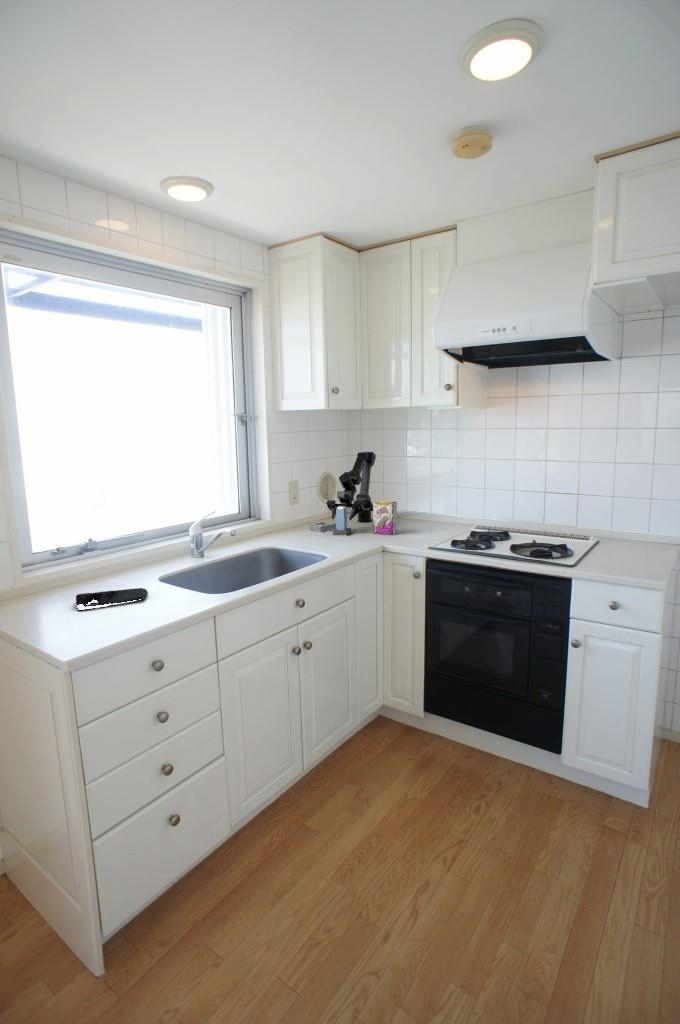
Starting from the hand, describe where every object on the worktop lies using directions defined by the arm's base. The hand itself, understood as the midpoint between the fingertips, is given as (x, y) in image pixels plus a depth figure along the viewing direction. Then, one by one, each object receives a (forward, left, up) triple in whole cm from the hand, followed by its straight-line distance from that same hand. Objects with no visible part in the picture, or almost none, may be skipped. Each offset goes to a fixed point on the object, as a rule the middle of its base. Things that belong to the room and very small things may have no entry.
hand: (341, 519), depth 266 cm
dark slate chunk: (+113, +36, -8) cm, 119 cm away
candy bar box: (-18, +12, -8) cm, 23 cm away
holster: (-1, -1, -8) cm, 8 cm away
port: (+1, -17, -8) cm, 18 cm away
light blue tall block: (-1, -1, -8) cm, 8 cm away
